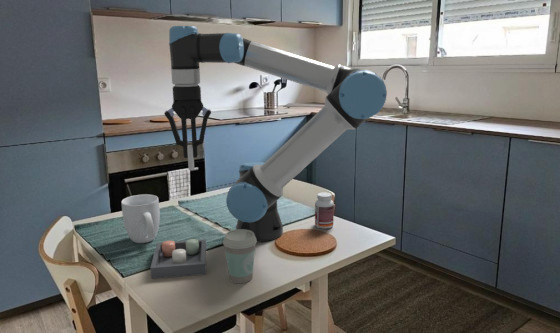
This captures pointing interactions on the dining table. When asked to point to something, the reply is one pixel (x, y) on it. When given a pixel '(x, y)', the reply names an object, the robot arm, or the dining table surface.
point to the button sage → (192, 246)
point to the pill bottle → (324, 211)
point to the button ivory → (179, 256)
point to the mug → (141, 217)
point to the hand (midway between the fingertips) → (191, 168)
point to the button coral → (168, 248)
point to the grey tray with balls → (166, 268)
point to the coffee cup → (240, 254)
